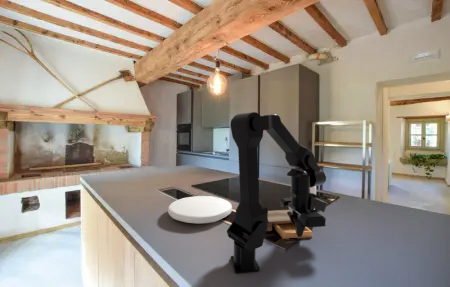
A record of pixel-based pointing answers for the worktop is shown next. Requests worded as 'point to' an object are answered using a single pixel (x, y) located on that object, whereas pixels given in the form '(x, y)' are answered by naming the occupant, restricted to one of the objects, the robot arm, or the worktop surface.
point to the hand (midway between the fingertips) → (299, 236)
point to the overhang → (278, 218)
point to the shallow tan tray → (290, 231)
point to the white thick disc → (200, 209)
